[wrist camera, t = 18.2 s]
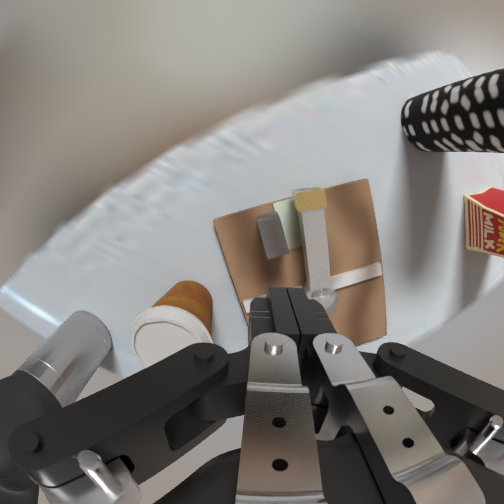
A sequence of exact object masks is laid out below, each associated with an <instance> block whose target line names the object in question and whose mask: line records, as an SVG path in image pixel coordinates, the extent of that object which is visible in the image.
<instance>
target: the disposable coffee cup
mask: <svg viewBox="0 0 504 504" xmlns="http://www.w3.org/2000/svg"><path fill="white" fill-rule="evenodd" d="M211 322H212V298H211V295H210V293H209V291H208V290H207V289H206V288H205V287H204V286H203V285H201V284H199V283H197V282H194V281H182V282H179V283H177V284H176V285H175V286H174V287H173V288H171V289H170V290H169V291H168V292H167V293H166V294H165V295H164V296H163V297H162V298H161V299H159V300H158V301H157V302H156V303H155V304H154V305H153V306H152V307H151V308H148V309H146V310H144V311H143V312H141V313H140V314H139V315H138V316H137V317H136V318H135V319H134V321H133V323H132V326H131V330H130V333H131V338H130V343H131V349H132V351H133V354H134V356H135V357H136V359H137V360H138V361H139V363H140V364H141V365H142V366H143V367H144V368H147V367H149V366H151V365H153V364H155V363H157V362H159V361H161V360H162V359H164V358H166V357H168V356H170V355H172V354H174V353H176V352H178V351H179V350H181V349H183V348H185V347H187V346H189V345H191V344H194V343H201V342H206V343H213V341H212V338H211Z"/></svg>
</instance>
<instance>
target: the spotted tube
mask: <svg viewBox="0 0 504 504" xmlns="http://www.w3.org/2000/svg"><path fill="white" fill-rule="evenodd" d="M401 122H402V127H403V130H404V132H405V134H406V136H407V138H408V139H409V141H410V142H411V143H412V144H413V145H414V146H415V147H416V148H418V149H419V150H421V151H425V152H494V153H504V68H503V69H499V70H495V71H491V72H488V73H484V74H481V75H477V76H474V77H470V78H467V79H464V80H461V81H458V82H455V83H451V84H448V85H446V86H443V87H440V88H437V89H434V90H431V91H428V92H426V93H423V94H420V95H418V96H415V97H412V98H410V99H409V100H407V101H406V102H405V104H404V106H403V108H402V112H401Z"/></svg>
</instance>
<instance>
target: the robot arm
mask: <svg viewBox="0 0 504 504" xmlns="http://www.w3.org/2000/svg"><path fill="white" fill-rule="evenodd" d="M111 345H112V342H111V337H110V334H109V332H108V330H107V328H106V327H105V325H104V324H103V323H102V322H101V321H100V320H99V319H98V318H97V317H95V316H94V315H92V314H90V313H88V312H85V311H77V312H75V313H73V314H72V315H71V316H70V317H69V318H68V319H67V320H66V321H65V322H64V323H63V324H61V325H60V326H59V327H58V328H57V329H56V330H55V331H54V332H53V333H52V334H51V335H50V336H49V337H48V338H47V339H46V340H45V341H44V342H43V343H42V344H41V345H40V346H39V347H38V348H37V349H36V350H35V351H34V352H33V353H32V354H31V355H30V356H29V357H28V358H27V360H26V361H25V362H24V363H23V364H22V365H21V366H20V367H19V368H18V369H17V370H16V371H15V372H14V373H13V374H12V375H11V376H9V377H6V378H4V379H1V380H0V504H38V494H39V487H40V488H41V489H42V491H43V492H44V494H45V496H46V498H47V500H48V501H49V503H50V504H139V502H140V500H141V490H140V487H139V484H141V483H143V482H144V481H146V480H147V479H149V478H150V477H152V476H154V475H155V474H157V473H158V472H160V471H161V470H163V469H164V468H166V467H167V466H169V465H170V464H172V463H173V462H175V461H176V460H177V459H179V458H180V457H181V456H183V455H184V454H186V453H187V452H189V451H190V450H191V449H193V448H194V447H195V446H197V445H198V444H199V443H201V442H202V441H203V440H205V439H206V438H207V437H208V436H209V435H211V434H212V433H213V432H214V431H216V430H217V429H218V428H219V427H221V426H222V425H223V424H224V423H225V422H226V420H227V418H231V417H236V416H241V415H244V424H243V434H242V444H241V448H239V449H235V450H232V451H228V452H226V453H223V454H221V455H219V456H217V457H215V458H213V459H211V460H210V461H208V462H207V463H205V464H204V465H203V466H201V467H200V468H199V469H198V470H196V471H195V472H194V473H193V474H191V475H190V476H189V477H188V478H187V479H185V480H184V481H183V482H182V483H180V484H179V485H178V486H176V487H175V488H174V489H172V490H171V491H170V492H168V493H167V494H166V495H164V496H163V497H162V498H161V499H159V500H158V501H156V502H155V503H153V504H504V390H502V389H499V388H497V387H495V386H493V385H491V384H488V383H485V382H484V381H481V380H479V379H477V378H475V377H472V376H470V375H468V374H466V373H463V372H461V371H459V370H457V369H454V368H452V367H450V366H448V365H446V364H444V363H441V362H439V361H437V360H435V359H433V358H431V357H428V356H426V355H424V354H422V353H420V352H418V351H415V350H413V349H411V348H409V347H407V346H405V345H402V344H399V343H394V342H388V343H384V344H382V345H381V346H380V347H379V349H378V351H377V354H374V353H367V352H361V351H358V350H357V348H356V347H355V345H354V344H353V343H352V341H351V340H350V339H348V338H347V337H345V336H342V335H339V334H337V332H336V330H335V328H334V326H333V324H332V322H331V320H330V319H329V317H328V315H327V313H326V311H325V309H324V307H323V305H322V304H320V303H319V302H318V301H316V300H315V299H308V297H307V295H306V293H305V290H304V288H294V287H286V288H285V287H269V286H268V287H267V293H266V298H260V297H255V298H254V299H253V300H252V301H251V303H250V311H249V325H248V347H247V348H245V349H244V350H242V351H239V352H236V353H231V354H227V352H226V350H225V349H223V348H222V347H221V346H218V345H216V344H213V343H206V342H201V343H194V344H191V345H189V346H187V347H185V348H183V349H181V350H179V351H178V352H176V353H174V354H172V355H170V356H168V357H166V358H164V359H162V360H161V361H159V362H157V363H155V364H153V365H151V366H149V367H147V368H145V369H143V370H141V371H139V372H137V373H135V374H133V375H131V376H129V377H127V378H125V379H123V380H121V381H119V382H117V383H115V384H113V385H111V386H109V387H107V388H105V389H103V390H101V391H98V392H96V393H94V394H92V395H90V396H88V397H86V398H83V399H81V400H79V401H77V402H75V401H76V399H77V397H78V396H79V394H80V393H81V391H82V390H83V388H84V387H85V385H86V384H87V383H88V381H89V379H90V378H91V377H92V375H93V374H94V372H95V371H96V369H97V368H98V366H99V365H100V364H101V362H102V361H103V359H104V358H105V357H106V355H107V354H108V352H109V351H110V349H111ZM402 387H405V388H408V389H409V390H411V391H413V392H415V393H417V394H419V395H421V396H423V397H425V398H427V399H430V400H431V401H432V402H433V403H434V405H435V406H434V408H433V409H432V410H430V411H428V412H423V411H421V410H419V409H417V408H415V407H414V406H413V404H412V403H411V402H410V400H409V399H408V397H407V396H406V395H405V393H404V392H403V390H402ZM74 402H75V403H74Z"/></svg>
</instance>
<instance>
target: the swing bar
mask: <svg viewBox="0 0 504 504" xmlns="http://www.w3.org/2000/svg"><path fill="white" fill-rule="evenodd" d="M292 195H293V201H294V208H295V209H296V210H297V211H298V216H299V224H300V231H301V239H302V247H303V255H304V263H305V272H306V282H305V283H304V284H303V286H302V288H304V290H305V293H306V295H307V297H308V299H315V300H316V301H318V302H319V303H320V304H322V305H323V307H324V309H325V311H326V313H327V315H328V316H330V315H331V314H332V313H333V312H334V311H335V310H336V308H337V306H338V296H337V294H336V293H335V291H334V289H333V288H332V286H331V278H330V265H329V253H328V242H327V232H326V223H325V214H324V208H327V204H326V196H325V189H323V188H320V187H312V188H305V189H298V190H292Z"/></svg>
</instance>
